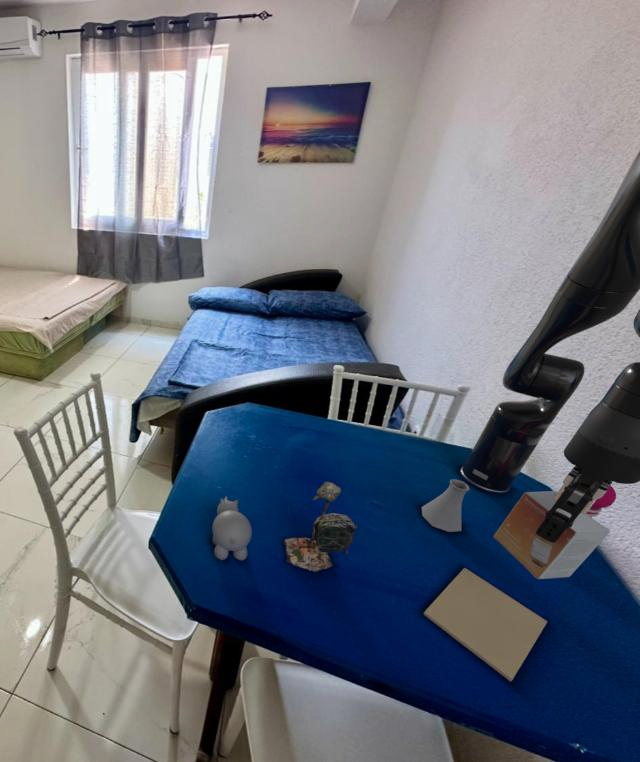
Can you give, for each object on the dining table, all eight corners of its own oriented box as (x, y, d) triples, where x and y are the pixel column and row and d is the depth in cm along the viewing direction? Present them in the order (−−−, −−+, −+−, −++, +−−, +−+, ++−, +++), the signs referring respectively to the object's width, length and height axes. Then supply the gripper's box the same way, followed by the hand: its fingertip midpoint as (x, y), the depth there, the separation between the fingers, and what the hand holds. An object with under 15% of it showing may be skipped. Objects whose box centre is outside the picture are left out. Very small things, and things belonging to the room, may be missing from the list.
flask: (467, 536, 83) (490, 500, 79) (429, 529, 85) (448, 494, 80) (450, 510, 90) (470, 475, 85) (415, 504, 91) (432, 470, 86)
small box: (491, 537, 68) (522, 490, 63) (521, 535, 69) (555, 489, 64) (537, 580, 61) (576, 532, 56) (570, 578, 62) (612, 530, 57)
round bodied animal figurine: (240, 517, 86) (247, 486, 82) (249, 566, 76) (258, 534, 72) (206, 513, 87) (211, 483, 83) (210, 562, 76) (216, 530, 72)
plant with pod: (347, 585, 73) (384, 503, 63) (281, 564, 76) (307, 484, 67) (343, 549, 80) (376, 471, 70) (282, 532, 83) (306, 455, 73)
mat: (463, 569, 76) (464, 567, 76) (545, 623, 68) (547, 621, 67) (422, 614, 68) (424, 612, 68) (510, 681, 60) (512, 679, 59)
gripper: (650, 475, 47) (573, 566, 55) (672, 437, 54) (600, 523, 62) (565, 441, 53) (505, 529, 61) (594, 410, 60) (537, 493, 68)
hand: (553, 526), depth 61 cm, fingers closed on small box, 7 cm apart
